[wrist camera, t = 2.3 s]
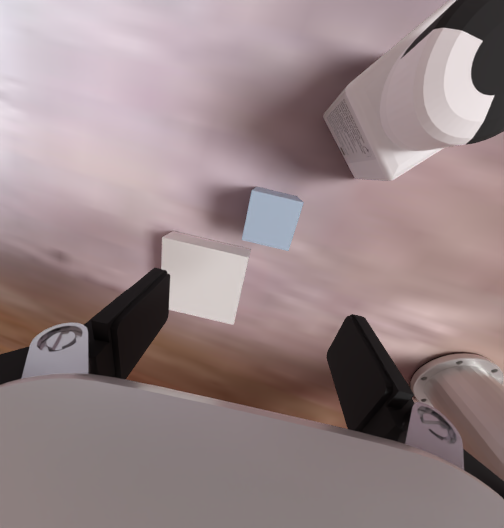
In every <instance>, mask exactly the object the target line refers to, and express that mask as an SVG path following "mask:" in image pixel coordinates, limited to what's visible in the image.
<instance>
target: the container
mask: <svg viewBox="0 0 504 528" xmlns="http://www.w3.org/2000/svg"><path fill="white" fill-rule="evenodd" d="M323 118H324V120H325V122H326V124H327V126H328V128H329V130H330V132H331V134H332V136H333V137H334V139H335V141H336V143H337V145H338V147H339V149H340V151H341V153H342V155H343V157H344V159H345V161H346V163H347V164H348V166H349V168H350V170H351V172H352V174H353V176H354V178H355V179H364V180H380V181H392V180H394V179H396V178H397V177H399V176H400V175H402V174H404V173H405V172H407V171H408V170H410V169H411V168H413V167H415V166H416V165H418V164H419V163H421V162H423V161H424V160H426V159H427V158H429V157H430V156H432V155H434V154H435V153H437V152H438V151H440V150H442V149H443V148H446V147H453V146H459V145H466V144H472V143H477V142H480V141H483V140H486V139H489V138H491V137H493V136H496V135H498V134H499V133H501V132H503V131H504V0H448V1H447V2H446V3H445V4H444V5H442V6H441V7H440V8H439V9H438V10H436V11H435V12H434V13H433V14H432V15H430V16H429V17H428V18H427V19H426V20H424V21H423V22H422V23H421V24H420V25H418V26H417V27H416V28H415V29H414V30H412V31H411V32H410V33H409V34H408V35H407V36H405V37H404V38H403V39H402V40H401V41H399V42H398V43H397V44H396V45H395V46H393V47H392V48H391V49H390V50H389V51H387V52H386V53H385V54H384V55H383V56H381V57H380V58H379V59H378V60H377V61H375V62H374V63H373V64H372V65H371V66H369V67H368V68H367V69H366V70H365V71H364V72H362V73H361V74H360V75H359V76H358V77H356V78H355V79H354V80H353V81H352V82H350V83H349V84H348V85H347V87H346V88H345V89H344V90H343V91H342V92H341V94H340V95H339V96H338V97H337V98H336V100H335V101H334V102H333V103H332V104H331V106H330V107H329V108H328V109H327V110H326V112H325V113H324V115H323Z"/></svg>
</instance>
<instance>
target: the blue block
mask: <svg viewBox="0 0 504 528" xmlns="http://www.w3.org/2000/svg"><path fill="white" fill-rule="evenodd" d="M303 203H304V202H303V201H302V200H300V199H299V198H298V197H297V196H294V195H290V194H286V193H281V192H277V191H273V190H269V189H264V188H260V187H255V188H254V189H253V190H252V192H251V197H250V202H249V207H248V212H247V217H246V221H245V226H244V231H243V236H242V240H244V241H249V242H253V243H257V244H261V245H265V246H270V247H274V248H278V249H282V250H287V251H289V248H290V244H291V241H292V238H293V235H294V232H295V228H296V225H297V222H298V219H299V216H300V212H301V209H302V206H303Z"/></svg>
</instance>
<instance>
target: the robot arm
mask: <svg viewBox="0 0 504 528" xmlns="http://www.w3.org/2000/svg"><path fill="white" fill-rule="evenodd" d="M169 293H170V274H167V271H166V270H162V269H158V268H154V269H152V270H151V271H150V272H149V273H148V274H146V275H145V276H144V277H143V278H141V279H140V280H139V281H138V282H137V283H135V284H134V285H133V286H132V287H131V288H129V289H128V290H126V291H125V292H124V293H122V294H121V295H120V296H119V297H117V298H116V299H115V300H114V301H113V302H111V303H110V304H109V305H108V306H106V307H105V308H104V309H103V310H101V311H100V312H99V313H98V314H97V315H95V316H94V317H93V318H92V319H90V320H89V321H88V322H87V323H86V324H84V325H82V324H79V323H64V324H59V325H56V326H53V327H51V328H48V329H46V330H44V331H43V332H41V333H40V334H38V335H37V336H36V337H35V338H34V339H33V340H32V342H31V344H30V347H26V348H22V349H19V350H15V351H11V352H8V353H4V354H0V528H504V386H503V385H502V384H503V379H504V377H503V373H502V371H501V369H500V368H499V367H498V366H497V365H496V364H495V363H494V362H492V361H491V360H489V359H488V358H486V357H483V356H480V355H476V354H467V353H462V354H451V355H446V356H443V357H439V358H437V359H434V360H432V361H430V362H428V363H426V364H425V365H423V366H422V367H421V368H419V369H418V370H417V372H416V373H415V374H414V376H413V377H412V380H411V383H410V385H411V389H410V387H409V386H408V384H407V382H406V381H405V379H404V378H403V376H402V375H401V373H400V372H399V370H398V368H397V367H396V365H395V364H394V362H393V361H392V359H391V358H390V356H389V354H388V353H387V351H386V350H385V348H384V347H383V345H382V344H381V342H380V341H379V339H378V337H377V336H376V334H375V333H374V331H373V330H372V328H371V327H370V325H369V323H368V322H367V320H366V319H365V318H364V317H362V316H358V315H353V314H352V315H350V316H347V317H346V318H345V320H344V322H343V324H342V326H341V328H340V330H339V331H338V333H337V335H336V337H335V339H334V341H333V343H332V344H331V346H330V348H329V350H328V352H327V361H328V364H329V368H330V371H331V374H332V378H333V381H334V384H335V388H336V391H337V394H338V398H339V401H340V404H341V408H342V411H343V414H344V418H345V421H346V424H347V427H348V429H345V428H340V427H336V426H332V425H328V424H323V423H319V422H315V421H310V420H306V419H302V418H298V417H293V416H289V415H284V414H280V413H276V412H271V411H267V410H263V409H258V408H254V407H249V406H245V405H241V404H236V403H232V402H227V401H223V400H218V399H214V398H209V397H205V396H200V395H196V394H191V393H187V392H182V391H178V390H173V389H169V388H164V387H160V386H155V385H150V384H145V383H140V382H135V381H130V380H125V379H126V378H127V377H128V375H129V374H130V372H131V371H132V369H133V368H134V367H135V365H136V364H137V362H138V361H139V359H140V358H141V357H142V355H143V354H144V352H145V351H146V349H147V348H148V347H149V345H150V344H151V342H152V341H153V339H154V338H155V337H156V335H157V334H158V332H159V331H160V329H161V328H162V327H163V325H164V324H165V322H166V321H167V318H168V313H169ZM413 396H415V397H416V399H417V400H418V401H419V402H416V403H414V402H413V400H412V397H413Z"/></svg>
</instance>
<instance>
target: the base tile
mask: <svg viewBox="0 0 504 528" xmlns="http://www.w3.org/2000/svg"><path fill="white" fill-rule="evenodd" d="M250 251H251V249H248V248H243V247H239V246H235V245H231V244H226V243H222V242H218V241H214V240H209V239H205V238H201V237H197V236H192V235H188V234H184V233H180V232H175V231H172V232H170V233H169V234H167V235H165V236H163V237H162V261H161V269H162V270H166V271H167V274H170V293H169V310H172V311H177V312H181V313H185V314H189V315H194V316H198V317H202V318H207V319H211V320H215V321H219V322H224V323H228V324H232V325H234V321H235V317H236V313H237V309H238V305H239V300H240V296H241V291H242V287H243V283H244V278H245V274H246V269H247V265H248V260H249V256H250Z"/></svg>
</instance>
